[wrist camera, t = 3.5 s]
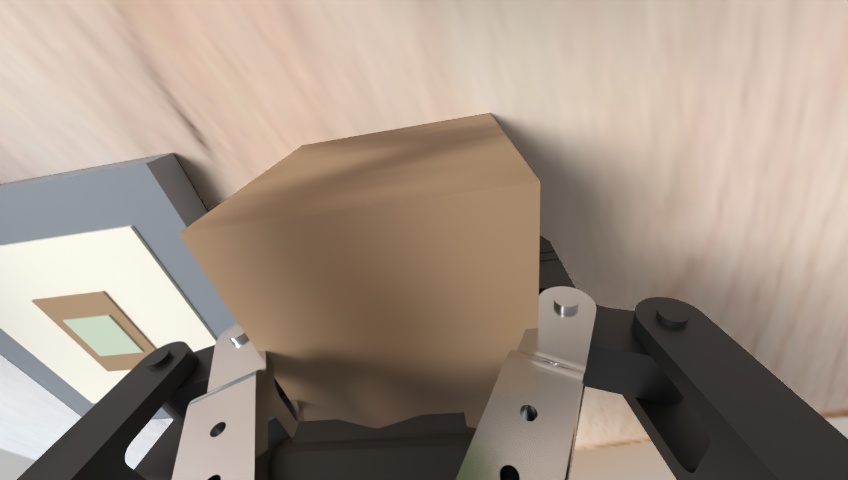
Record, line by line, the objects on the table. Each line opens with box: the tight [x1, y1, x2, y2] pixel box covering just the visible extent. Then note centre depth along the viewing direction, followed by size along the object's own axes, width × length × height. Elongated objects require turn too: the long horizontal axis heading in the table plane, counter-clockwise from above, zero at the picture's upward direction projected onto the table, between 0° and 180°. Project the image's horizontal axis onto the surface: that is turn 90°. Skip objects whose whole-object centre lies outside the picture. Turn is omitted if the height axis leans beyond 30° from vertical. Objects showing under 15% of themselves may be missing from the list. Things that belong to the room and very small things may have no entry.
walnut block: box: [179, 113, 541, 429], centre depth 10 cm, size 6×9×6 cm
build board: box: [0, 153, 237, 419], centre depth 15 cm, size 14×14×2 cm
